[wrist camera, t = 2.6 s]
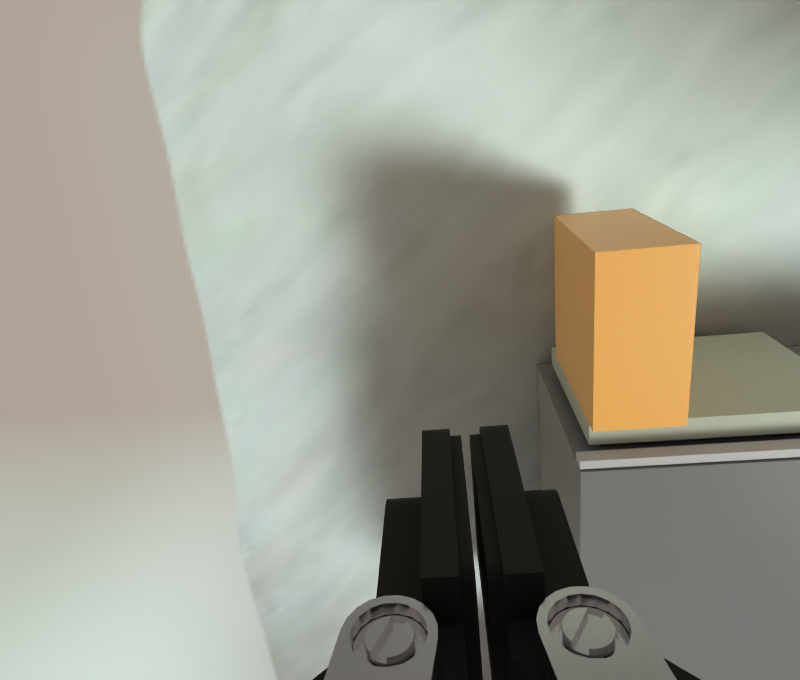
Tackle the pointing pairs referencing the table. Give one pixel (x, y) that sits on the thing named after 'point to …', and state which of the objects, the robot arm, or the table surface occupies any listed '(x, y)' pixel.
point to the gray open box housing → (687, 537)
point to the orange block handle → (656, 340)
